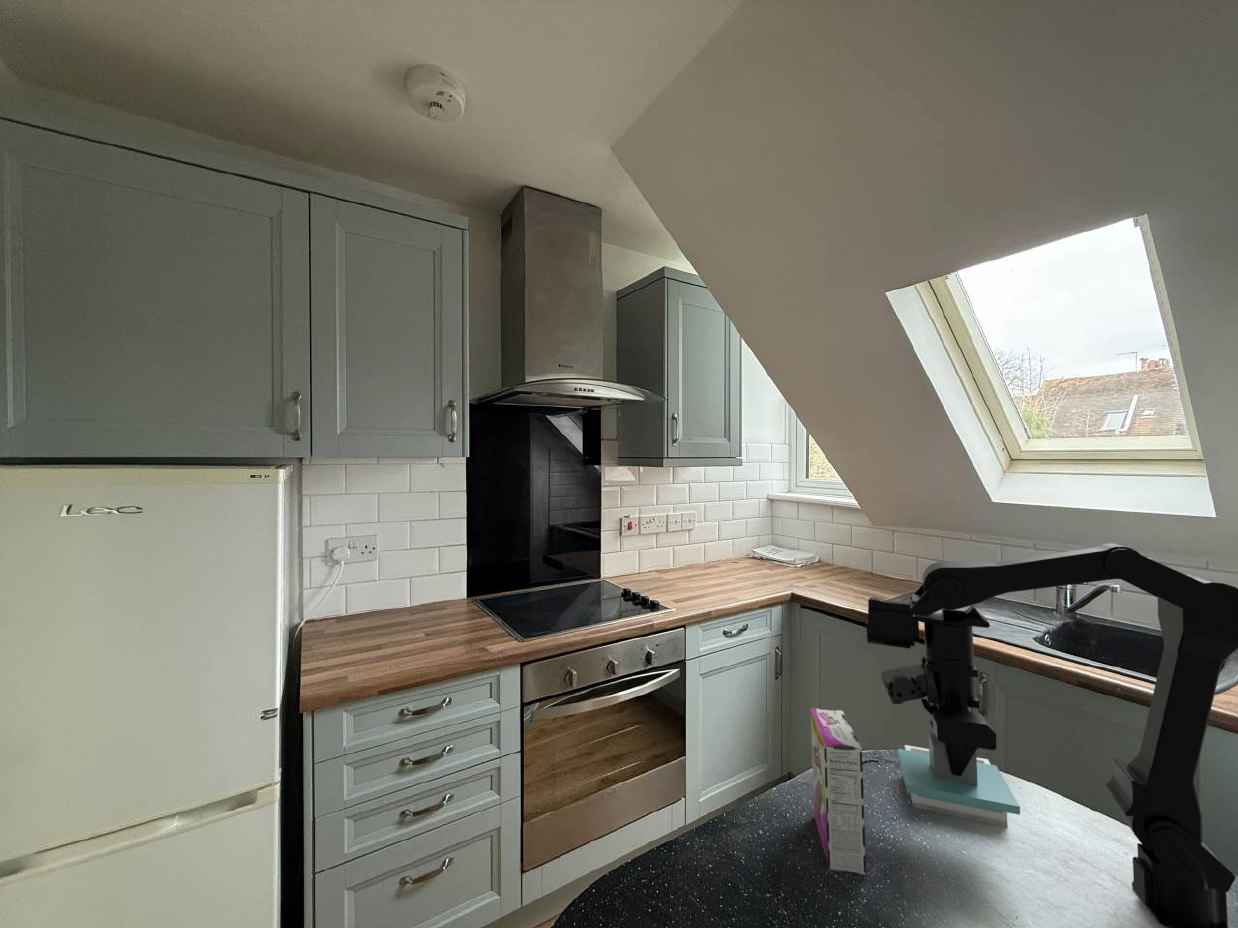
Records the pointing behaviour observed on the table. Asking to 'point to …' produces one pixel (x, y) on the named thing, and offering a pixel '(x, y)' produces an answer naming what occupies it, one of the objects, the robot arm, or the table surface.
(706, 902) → the table surface
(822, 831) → the candy bar box
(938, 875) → the table surface
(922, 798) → the storage box
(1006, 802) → the lid
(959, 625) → the robot arm
